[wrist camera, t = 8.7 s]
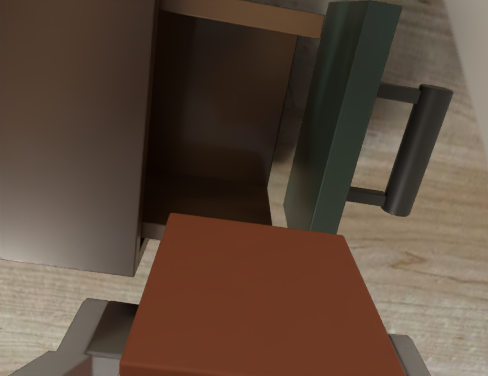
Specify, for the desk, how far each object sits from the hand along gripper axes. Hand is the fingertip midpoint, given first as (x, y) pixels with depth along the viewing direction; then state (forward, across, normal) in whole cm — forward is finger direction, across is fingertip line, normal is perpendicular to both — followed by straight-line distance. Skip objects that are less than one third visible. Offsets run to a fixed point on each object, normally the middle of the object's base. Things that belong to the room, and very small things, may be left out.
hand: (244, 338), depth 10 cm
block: (+2, 0, 0) cm, 2 cm away
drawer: (+15, 0, -2) cm, 16 cm away
